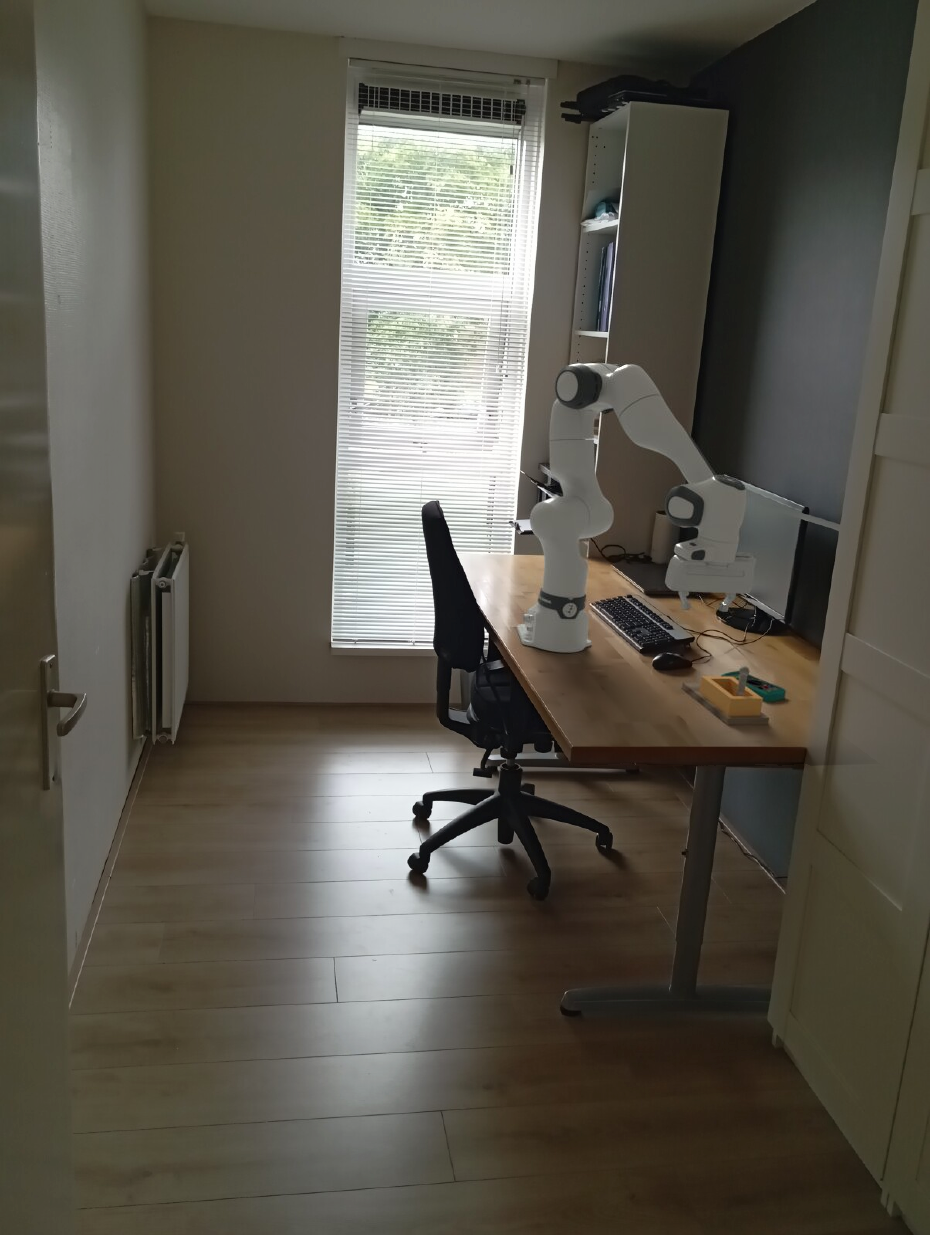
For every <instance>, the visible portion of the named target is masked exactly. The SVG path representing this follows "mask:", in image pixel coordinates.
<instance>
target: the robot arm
mask: <svg viewBox="0 0 930 1235" xmlns="http://www.w3.org/2000/svg"><path fill="white" fill-rule="evenodd" d="M554 392H555V396H556V399H555V400H554V402H553V404H552V408H551V414H550V423H549V436H548V437H549V438H548V439H549V442H548V444H549V471H550V474H551V475H552V476H553V477H554V478H556V480H557V481H558V482H559V484H560V488H561V491H562V495H563V496H555V497H550V498H548V499H545V500H542V501H540V502H537V503H536V504H535V505H534V506H533V507H532V510H531V512H530V515H529V525H530V528H531V531H532V532H533V534H534V535H535V537H536V538H537V539H538V540H539V542H540V544H541V547H542V551H543V552H542V553H543V558H544V559H543V560H544V562H543V563H544V566H543V575H542V576H543V577H542V586H541V588H540V591H539V592H538V596H537V597H538V598H537V602H536V603H535V604H534V605H533V606H532V607H530V608H529V609H528V610H527V613H524V614H523V616H522V622H523V623H521V624H517V626H516V631H517V633H518V636H519V638H520V641H521V643H522V645H524V646H528V647H533V648H537V649H541V650H545V651H549V652H556V653H578V652H581V651H583V650H585V648H587V647H590V646H592V640H591V639H588V633H589V632H588V631H589V614H588V613H587V612H586V610H585V608H586V605H587V594H586V589H587V582H588V581H587V580H588V573H589V566H588V565H589V564H588V562H587V561H586V559H584V558H583V557H582V556H581V552H580V545H579V544H580V540H581V539H590V538H594V537H596V536H599V535H601V534H603V533H606V532H607V531H608V530H609V529H610V528H611V527H612V525H613V523H614V518H615V516H614V515H615V514H614V508H613V506H612V504H611V503H610V502H609V500H608V499H607V498H605V495H603V492H602V489H601V487H600V484H599V481H598V478H597V475H596V465H595V462H596V461H595V433H594V432H595V429H594V426H595V419H596V418H597V416H598V414H600V413H602V414H604V415H607V414H609V413H612V412H613V411H614V412H615V415H616V416H617V419H618V421H619V423H620V426H621V427H622V429H623V431H624V433H625V434H626V436H628V437H629V439H630V440H631V441H632V442H633V443H634V444H635V445H637V446H639V447H641V448H644V449H648V450H651V451H653V452H657V453H659V454H661V455H664V457H667V458H669V459H671V461H672V462H674V464H675V465H676V467H677V468H678V469H679V470H680V472H681V473H682V475H683V477H684V479H685V480H686V481H687V483H686V484H685V483H684V484H680V485H676V486H674V487H672V488H671V489H670V490H669V492H668V493H667V495H666V497H665V500H664V512H665V515H666V517H667V519H668V521H670V523H671V524H673V526H677V527H681V528H696V529H697V530H698V534H697V537H695V538H693V539H690V540H686V541H682V542H679V543H676V544H675V546H674V548H673V552H674V553H675V555H673V556H672V558H670V561H669V563H668V566H667V567H668V568H667V569H666V575H665V580H664V583H665V585H666V587H667V588H668V589H670V590H671V591H672V592H678V595H679V598H680V601H681V603H680V609H681V610H683V611H690V610H691V605H692V603H691V602H690V601H688V599H687V597H688V596H689V595H690V593H691V592H693V593H697V592H698V593H720V594H721V593H723V594H725V596H726V597H725V598H724V599H723V600H722V601H720V602H719V603H718V611H720V612H723V613H724V612H728V611H729V606H730V605H731V603H732V602H734V600H735V599H736V597H737V596H736V595H737V594H744V595H745V594H747V595H748V594H749V593H750V592H752V590H753V586H754V580H755V579H754V576H755V568H756V565H757V564H756V563H757V558H756V556H755V555H754V554H752V552H749V551H748V552H747V551H746V552H743V551H737V550H738V548H739V547H738V546H739V542H740V534H739V532H740V529H741V526H742V524H743V522H744V519H745V518H744V517H745V512H746V506H747V488H746V486H745V484H744V483H743V482H742V481H741V480H739V479H738V478H734V477H732V476H728V475H723V474H717V473H716V471H715V470H714V469H713V468H712V466H711V464H710V463H709V461H708V460H707V459H706V457H705V455H704V453H703V452H702V451H701V449H700V447H699V446H698V445H697V443H696V442H695V440H694V439H693V437H692V436H691V435H690V434H689V433H688V431H687V430H686V429H685V428H684V427H683V426H682V424H681V423H680V422H679V421H678V420H677V418H676V417H675V416H674V414H673V412H672V411H671V409H670V408H669V407H668V405H667V404H666V402H665V400H664V398H663V396H662V394H661V392H660V390H659V388H658V387H657V386H656V384H655V383H654V381H653V380H652V378H651V377H650V376H649V374H648V373H647V372H646V371H645V370H644V369H643V368H642V367H641V366H640V365H637V364H625V365H620V364H616V363H615V364H610V363H604V362H594V363H579V362H578V363H574V364H569V365H566V366H565V367H564V368H562V369H561V370H560V371H559V372H558V374H557V376H556V378H555V385H554Z"/></svg>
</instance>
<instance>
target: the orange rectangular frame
mask: <svg viewBox="0 0 930 1235" xmlns="http://www.w3.org/2000/svg"><path fill="white" fill-rule="evenodd" d="M700 682H701V685H700V691H699V693H700V694H701V695H703V696H704V697H705V698H706V699H708V700H709V701H710V702H711V703H713V704H714V705H715V706H716V707H718V708H719V709H720V710H721V711H723V712H724V713H725V714H726V715H728V716H760V713H761V712H762V708H763V702H764V701H763V698H762V697H760V696H759V695H757V694H756V693H755V692H753V691H752V690H751V689H749V688H748V687H746V686H745V691H744V696H736V694H737V688H738V682H739V681H738V680H737V679H735V678H734V677H721V676H706V675H703V676H701V681H700Z"/></svg>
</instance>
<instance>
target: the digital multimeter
mask: <svg viewBox="0 0 930 1235" xmlns="http://www.w3.org/2000/svg"><path fill="white" fill-rule="evenodd" d="M720 677H734V678H735V679H737V680H738V681H739V677H740V673H739V670H736V671H729V672H725V673H723V674H721V675H720ZM746 687H748V688H749V689H751V690H752V691H753V692H755V693H756V694H757V695H759V696H760V697H762V698H763V702H765V703H771V702H776V701H780V700H783V699H785V698H786V693H787V691H786V689H784V688H783V687H781V686H778V685H775V684H773V683H772V682H771V683H770V682H768V681H765V680H763V679H760V678H758V677H756V676H754V675H752V674H750V673H749V674H748V675H747V680H746Z"/></svg>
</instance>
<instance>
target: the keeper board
mask: <svg viewBox="0 0 930 1235" xmlns="http://www.w3.org/2000/svg"><path fill="white" fill-rule="evenodd" d="M738 671H739V673H740V677H739V682H738V688H737V694H736V696H744V691H745V686H746V680H747V675H748V674H749V675H750V669H749V668H748V667H747V666H746V665H745V666H741V667H740V668H739V670H738ZM681 684H682V685H681V689H682V691H684V692H686V693H687V694H688V695H689V696H690V697H692V698H693V699H694V700H696V701H697V702H698V703H699V704H700V705H702V706H703V707H704V708H706V709H707V710H708V711H709V712H710V711H711V712H710V713H711V714H713V713H714V714H715V715H717V716H718V717H717V716H716V717H717V718H718V719H719V718H720V719H721V720H720V719H719V720H720V721H721V722H723V721H724V722H725V723H726V725H727V726H740V725H741V726H742V725H748V726H749V725H769V721H770V717H768V716H767V715H766V714H765V713H763V712H762V711H761V713H760V716H728V715H726V714H725V713H724V712H723V711H721V710H720V709H719V708H718V707H716V706H715V705H714V704H713V703H711V702H710V701H709V700H708V699H706V698H705V697H704V696H703V695H701V694H700V693H699V691H700V685H701V681H699V682H690V681H689V682H685V681H684V682H681ZM714 714H713V715H714ZM715 715H714V716H715ZM724 722H723V723H724ZM725 723H724V724H725Z"/></svg>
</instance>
